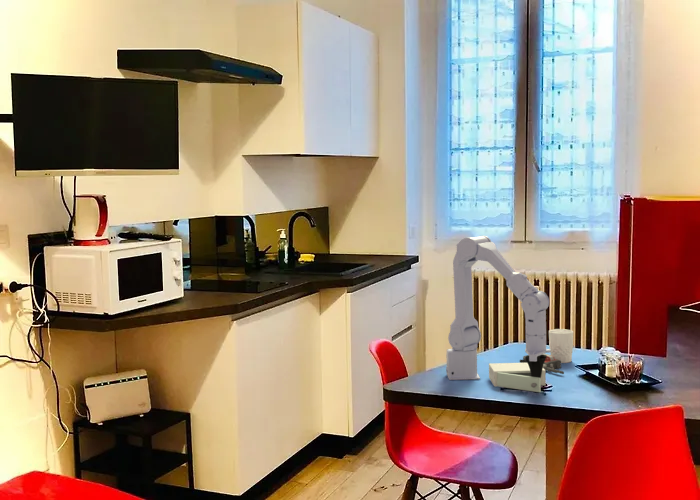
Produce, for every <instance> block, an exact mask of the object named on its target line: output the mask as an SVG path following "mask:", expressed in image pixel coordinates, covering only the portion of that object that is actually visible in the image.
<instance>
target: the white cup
mask: <svg viewBox="0 0 700 500" xmlns="http://www.w3.org/2000/svg"><path fill="white" fill-rule="evenodd" d="M548 340H549V341H548V343H549V345H548V346H549V349H550V350H551V352H550V353H549V354H550V355H552V356H554V358H555V359H557V360H560V361H561V364H568V363H569V364H570V363H571V362H572V361H573V357H572V356H573V346H574V330H572V329H565V328H554V329H550V330H548Z"/></svg>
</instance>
